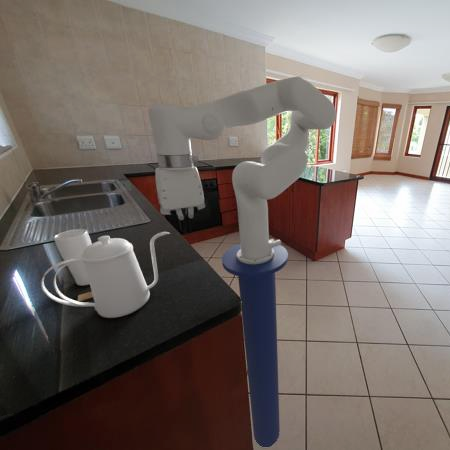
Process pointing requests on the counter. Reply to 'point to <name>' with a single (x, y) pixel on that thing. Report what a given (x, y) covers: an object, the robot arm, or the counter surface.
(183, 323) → the counter surface
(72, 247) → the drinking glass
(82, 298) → the marker strip
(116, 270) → the coffeepot
